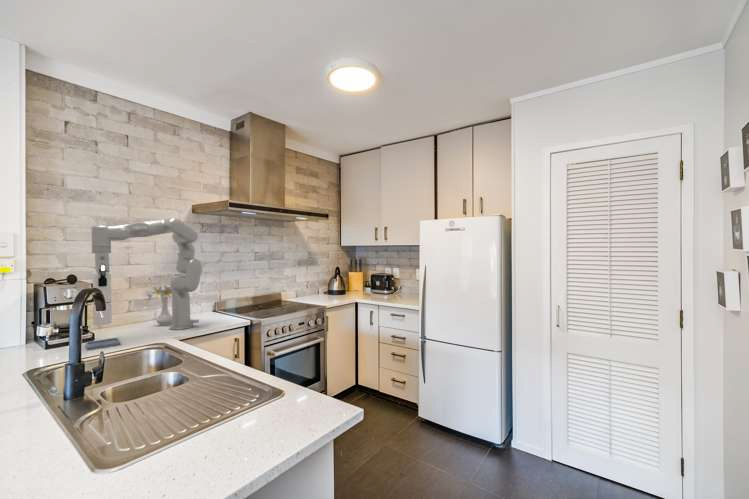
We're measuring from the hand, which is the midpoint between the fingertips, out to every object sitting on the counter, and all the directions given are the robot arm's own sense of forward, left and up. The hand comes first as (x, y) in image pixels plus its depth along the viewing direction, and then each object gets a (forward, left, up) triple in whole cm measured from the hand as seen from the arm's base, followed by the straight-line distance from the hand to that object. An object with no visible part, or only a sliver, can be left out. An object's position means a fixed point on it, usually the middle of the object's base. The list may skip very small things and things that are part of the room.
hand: (102, 285), depth 170 cm
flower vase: (-33, -32, -30) cm, 55 cm away
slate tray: (0, 0, -30) cm, 30 cm away
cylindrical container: (0, 0, -19) cm, 19 cm away
